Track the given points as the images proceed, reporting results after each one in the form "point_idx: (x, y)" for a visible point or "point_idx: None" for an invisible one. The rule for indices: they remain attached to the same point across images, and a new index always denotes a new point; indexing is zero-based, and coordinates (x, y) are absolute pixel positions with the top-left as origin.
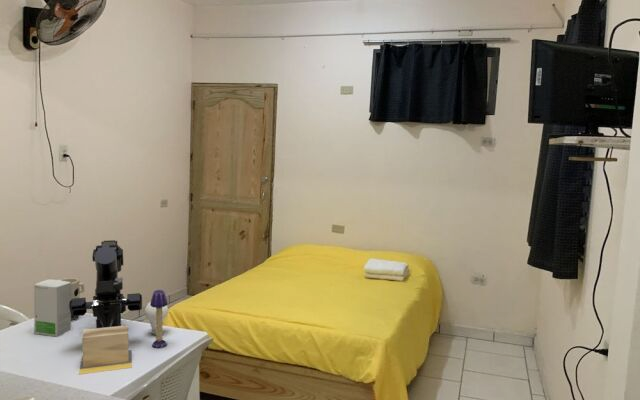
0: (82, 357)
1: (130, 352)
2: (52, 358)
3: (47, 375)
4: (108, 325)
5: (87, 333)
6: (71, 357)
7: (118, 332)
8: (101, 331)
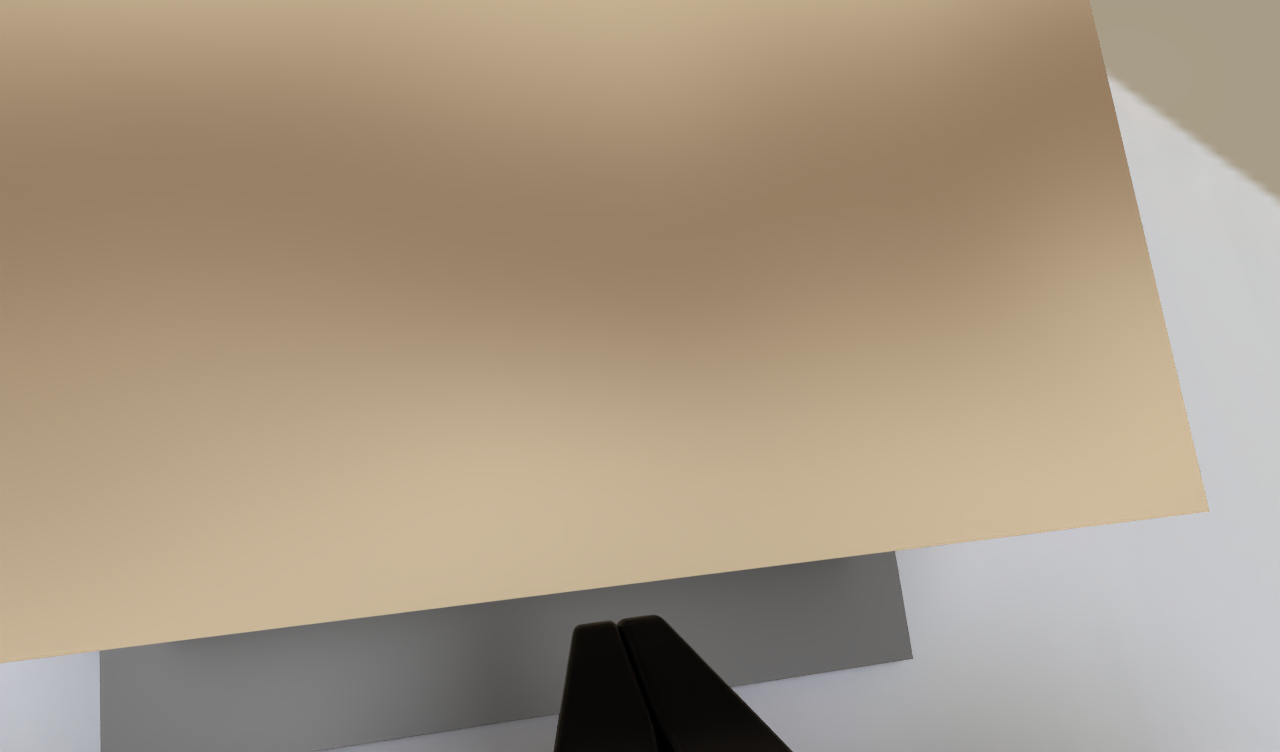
0: (892, 580)
1: (122, 651)
2: (1270, 683)
3: (1141, 174)
4: (599, 739)
5: (1046, 202)
6: (1045, 673)
7: (207, 47)
8: (726, 260)
